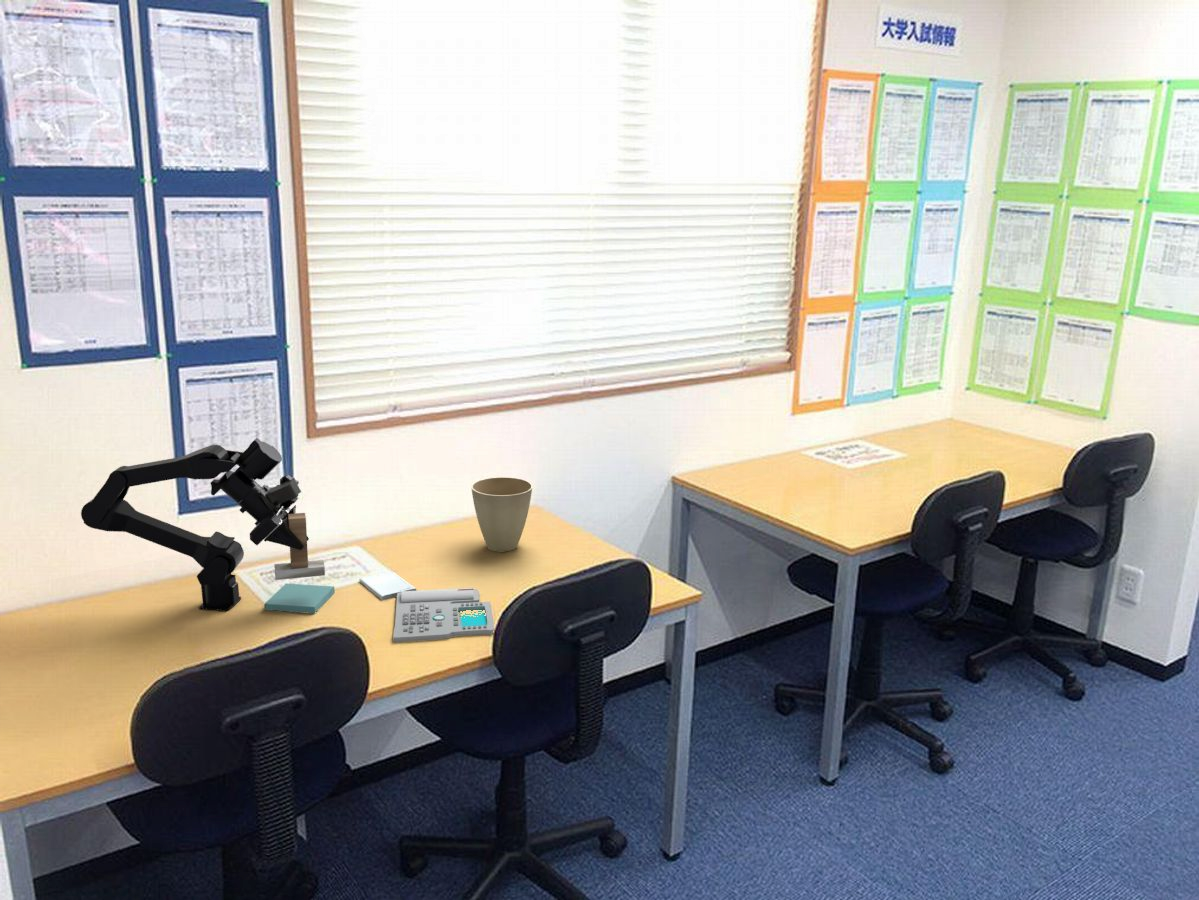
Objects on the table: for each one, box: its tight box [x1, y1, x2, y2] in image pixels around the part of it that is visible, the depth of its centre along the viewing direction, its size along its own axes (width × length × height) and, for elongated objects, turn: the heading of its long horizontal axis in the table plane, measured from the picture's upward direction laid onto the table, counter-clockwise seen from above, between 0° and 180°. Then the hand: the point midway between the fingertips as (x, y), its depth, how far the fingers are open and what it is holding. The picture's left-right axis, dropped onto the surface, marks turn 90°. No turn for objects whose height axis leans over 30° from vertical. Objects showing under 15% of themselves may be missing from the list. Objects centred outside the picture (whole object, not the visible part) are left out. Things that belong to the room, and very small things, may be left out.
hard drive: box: [358, 571, 418, 601], centre depth 222 cm, size 2×8×12 cm
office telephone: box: [392, 587, 495, 643], centre depth 208 cm, size 23×3×20 cm
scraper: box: [274, 512, 326, 581], centre depth 209 cm, size 4×10×13 cm, turn 109°
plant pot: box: [470, 476, 533, 553], centre depth 245 cm, size 15×15×16 cm
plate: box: [264, 583, 335, 614], centre depth 213 cm, size 11×11×2 cm
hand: (305, 544), depth 209 cm, fingers closed on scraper, 4 cm apart
